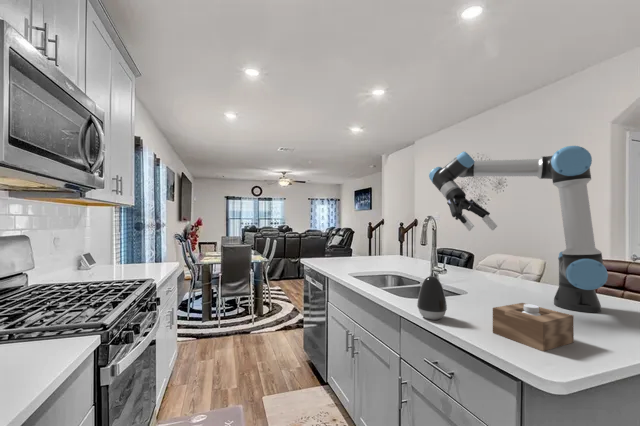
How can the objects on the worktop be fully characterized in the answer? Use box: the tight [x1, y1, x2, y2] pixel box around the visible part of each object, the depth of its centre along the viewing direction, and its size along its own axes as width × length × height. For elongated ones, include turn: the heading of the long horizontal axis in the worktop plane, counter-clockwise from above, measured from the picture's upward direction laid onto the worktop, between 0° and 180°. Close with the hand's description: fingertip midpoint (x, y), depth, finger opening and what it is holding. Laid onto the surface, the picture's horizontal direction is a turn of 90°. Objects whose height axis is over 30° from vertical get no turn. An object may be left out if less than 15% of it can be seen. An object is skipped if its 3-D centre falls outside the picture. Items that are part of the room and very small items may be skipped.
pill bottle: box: [523, 303, 541, 316], centre depth 96 cm, size 5×5×10 cm
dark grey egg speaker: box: [416, 275, 448, 321], centre depth 114 cm, size 10×10×15 cm
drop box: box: [492, 302, 575, 352], centre depth 96 cm, size 15×15×8 cm
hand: (483, 228), depth 124 cm, fingers open, 13 cm apart
